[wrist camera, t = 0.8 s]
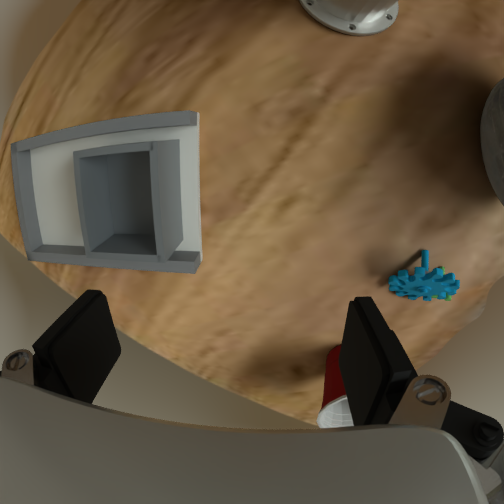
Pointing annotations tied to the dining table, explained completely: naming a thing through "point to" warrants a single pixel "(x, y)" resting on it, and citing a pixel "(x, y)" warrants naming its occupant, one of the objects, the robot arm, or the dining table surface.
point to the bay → (64, 190)
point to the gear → (424, 282)
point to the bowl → (494, 138)
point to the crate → (130, 200)
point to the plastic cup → (334, 396)
